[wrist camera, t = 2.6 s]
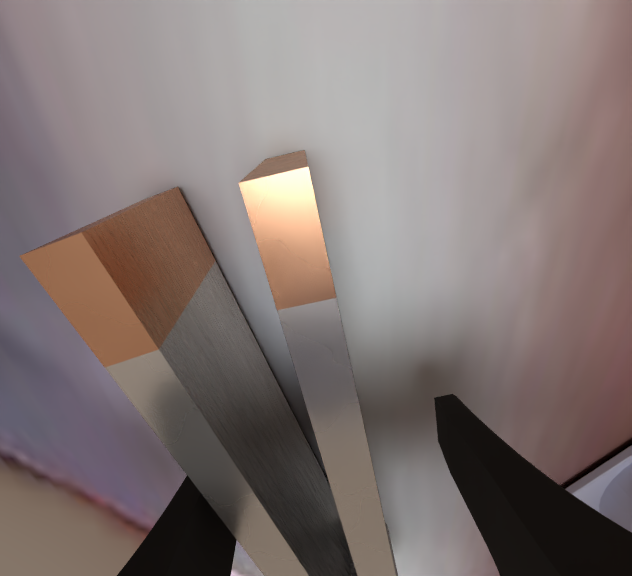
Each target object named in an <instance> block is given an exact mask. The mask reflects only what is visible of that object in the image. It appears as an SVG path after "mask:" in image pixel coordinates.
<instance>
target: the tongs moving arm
mask: <svg viewBox="0 0 632 576" xmlns="http://www.w3.org/2000/svg"><path fill="white" fill-rule="evenodd" d="M20 257H21V259H22V260H23V261H24V263H25V264H26V265H27V267H28V268H29V269H30V271H31V272H32V273H33V274H34V276H35V277H36V278H37V280H38V281H39V282H40V284H41V285H42V286H43V287H44V289H45V290H46V291H47V293H48V294H49V295H50V297H51V298H52V299H53V301H54V302H55V303H56V304H57V306H58V307H59V308H60V310H61V311H62V312H63V314H64V315H65V316H66V318H67V319H68V320H69V321H70V323H71V324H72V325H73V327H74V328H75V329H76V331H77V332H78V333H79V334H80V336H81V337H82V338H83V340H84V341H85V342H86V344H87V345H88V346H89V348H90V349H91V350H92V351H93V353H94V354H95V355H96V357H97V358H98V359H99V361H100V362H101V363H102V364H103V366H104V367H105V368H106V370H107V371H108V372H109V374H110V375H111V376H112V378H113V379H114V380H115V381H116V383H117V384H118V385H119V387H120V388H121V389H122V391H123V392H124V393H125V395H126V396H127V397H128V398H129V400H130V401H131V402H132V404H133V405H134V406H135V408H136V409H137V410H138V411H139V413H140V414H141V415H142V417H143V418H144V419H145V421H146V422H147V423H148V425H149V426H150V427H151V428H152V430H153V431H154V432H155V434H156V435H157V436H158V438H159V439H160V440H161V441H162V443H163V444H164V445H165V447H166V448H167V449H168V451H169V452H170V453H171V455H172V456H173V457H174V458H175V460H176V461H177V462H178V464H179V465H180V466H181V468H182V469H183V470H184V471H185V473H186V474H187V475H188V477H189V478H190V479H191V481H192V482H193V483H194V485H195V486H196V487H197V488H198V490H199V491H200V492H201V494H202V495H203V496H204V498H205V499H206V500H207V502H208V503H209V504H210V505H211V507H212V508H213V509H214V511H215V512H216V513H217V515H218V516H219V517H220V518H221V520H222V521H223V522H224V524H225V525H226V526H227V528H228V529H229V530H230V532H231V533H232V534H233V535H234V537H235V538H236V539H237V541H238V542H239V543H240V545H241V546H242V547H243V548H244V550H245V551H246V552H247V554H248V555H249V556H250V558H251V559H252V560H253V562H254V563H255V564H256V565H257V567H258V568H259V569H260V571H261V572H262V573H263V575H264V576H352V575H351V566H350V558H349V549H348V543H347V539H346V536H345V533H344V529H343V526H342V523H341V520H340V516H339V513H338V510H337V506H336V503H335V500H334V496H333V493H332V490H331V487H330V485H329V483H328V481H327V479H326V477H325V475H324V474H323V472H322V470H321V468H320V466H319V464H318V462H317V460H316V458H315V456H314V454H313V452H312V450H311V448H310V446H309V444H308V442H307V440H306V438H305V436H304V434H303V432H302V430H301V428H300V426H299V424H298V422H297V420H296V418H295V416H294V414H293V413H292V411H291V409H290V407H289V405H288V403H287V401H286V399H285V397H284V395H283V393H282V391H281V389H280V387H279V385H278V383H277V381H276V379H275V377H274V375H273V373H272V371H271V369H270V367H269V365H268V363H267V361H266V359H265V357H264V355H263V353H262V351H261V350H260V348H259V346H258V344H257V342H256V340H255V338H254V336H253V334H252V332H251V330H250V328H249V326H248V324H247V322H246V320H245V318H244V316H243V314H242V312H241V310H240V308H239V306H238V304H237V302H236V300H235V298H234V296H233V294H232V292H231V290H230V288H229V287H228V285H227V283H226V281H225V279H224V277H223V275H222V273H221V271H220V269H219V267H218V265H217V263H216V261H215V259H214V257H213V255H212V253H211V251H210V249H209V247H208V245H207V243H206V241H205V239H204V237H203V235H202V233H201V231H200V229H199V227H198V225H197V224H196V222H195V220H194V218H193V216H192V214H191V212H190V210H189V208H188V206H187V204H186V202H185V200H184V198H183V196H182V194H181V192H180V190H179V188H178V187H176V188H173V189H171V190H168V191H165V192H163V193H160V194H157V195H155V196H152V197H150V198H147V199H144V200H142V201H140V202H137V203H135V204H133V205H131V206H129V207H126V208H124V209H122V210H120V211H118V212H115V213H113V214H111V215H109V216H107V217H104V218H102V219H100V220H98V221H96V222H93V223H91V224H89V225H87V226H85V227H82V228H80V229H78V230H76V231H74V232H71V233H69V234H67V235H65V236H62V237H60V238H58V239H56V240H54V241H51V242H49V243H47V244H45V245H43V246H40V247H38V248H36V249H34V250H32V251H29V252H27V253H25V254H23V255H21V256H20Z"/></svg>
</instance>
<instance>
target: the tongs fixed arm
mask: <svg viewBox="0 0 632 576" xmlns="http://www.w3.org/2000/svg"><path fill="white" fill-rule="evenodd" d="M239 186H240V189H241V193H242V196H243V199H244V202H245V206H246V209H247V212H248V216H249V219H250V222H251V226H252V229H253V232H254V235H255V239H256V242H257V245H258V249H259V252H260V255H261V259H262V262H263V265H264V268H265V272H266V275H267V278H268V282H269V285H270V288H271V292H272V295H273V298H274V302H275V305H276V308H277V311H278V315H279V318H280V321H281V325H282V328H283V331H284V335H285V338H286V341H287V344H288V348H289V351H290V354H291V358H292V361H293V364H294V368H295V371H296V374H297V378H298V381H299V384H300V387H301V391H302V394H303V397H304V401H305V404H306V407H307V411H308V414H309V417H310V420H311V424H312V427H313V430H314V434H315V437H316V440H317V444H318V447H319V450H320V453H321V457H322V460H323V463H324V467H325V470H326V473H327V477H328V480H329V483H330V487H331V490H332V493H333V496H334V500H335V503H336V506H337V510H338V513H339V516H340V520H341V523H342V526H343V529H344V533H345V536H346V539H347V543H348V549H349V558H350V566H351V575H352V576H398V572H397V568H396V563H395V559H394V554H393V550H392V545H391V540H390V536H389V531H388V527H387V525H386V523H385V521H384V517H383V512H382V508H381V503H380V498H379V494H378V489H377V484H376V480H375V475H374V470H373V466H372V461H371V456H370V452H369V447H368V442H367V438H366V433H365V428H364V424H363V419H362V414H361V410H360V405H359V400H358V396H357V391H356V387H355V382H354V377H353V373H352V368H351V363H350V359H349V354H348V349H347V345H346V340H345V335H344V331H343V326H342V321H341V317H340V312H339V307H338V303H337V298H336V293H335V289H334V284H333V279H332V275H331V270H330V266H329V261H328V256H327V252H326V247H325V242H324V238H323V233H322V228H321V224H320V219H319V214H318V210H317V205H316V200H315V196H314V191H313V186H312V182H311V177H310V172H309V168H308V163H307V159H306V154H305V150H302V151H298V152H294V153H290V154H285V155H281V156H277V157H273V158H268V159H265V160H264V161H263V162H262V163H261V164H259V165H258V166H257V167H256V168H255V169H254V170H253V171H252V172H250V173H249V174H248V175H247V176H246V177H245V178H244V179H243V180H241V181H240V182H239Z"/></svg>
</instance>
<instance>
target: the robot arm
mask: <svg viewBox="0 0 632 576" xmlns="http://www.w3.org/2000/svg"><path fill="white" fill-rule="evenodd" d="M434 399H435V410H436V421H437V432H438V442H439V444H440V447H441V450H442V452H443V455H444V458H445V460H446V463H447V465H448V468H449V470H450V473H451V475H452V477H453V479H454V481H455V483H456V485H457V487H458V489H459V491H460V493H461V495H462V497H463V499H464V501H465V503H466V505H467V507H468V509H469V511H470V513H471V515H472V517H473V519H474V521H475V523H476V525H477V527H478V529H479V531H480V533H481V535H482V537H483V539H484V541H485V543H486V544H487V547H488V549H489V551H490V553H491V555H492V557H493V559H494V562H495V564H496V566H497V569H498V571H499V574H500V576H632V445H631V446H629V447H628V448H626V449H625V450H623V451H622V452H620V453H619V454H617V455H616V456H614V457H613V458H611V459H610V460H608V461H607V462H605V463H604V464H602V465H601V466H599V467H598V468H596V469H595V470H593V471H591V472H590V473H588V474H587V475H585V476H584V477H582V478H581V479H579V480H578V481H576V482H575V483H573V484H572V485H570V486H569V487H567V488H566V489H564V488H563V487H561V486H560V485H558V484H557V483H556V482H554V481H553V480H552V479H550V478H549V477H548V476H546V475H545V474H544V473H542V472H541V471H540V470H538V469H537V468H536V467H535V466H533V465H532V464H531V463H529V462H528V461H527V460H526V459H524V458H523V457H522V456H521V455H520V454H518V453H517V452H516V451H515V450H513V449H512V448H511V447H510V446H509V445H508V444H506V443H505V442H504V441H503V440H502V439H501V438H500V437H498V436H497V435H496V434H495V433H494V432H493V431H492V430H491V429H489V428H488V427H487V426H486V425H485V424H484V423H483V422H482V421H481V420H480V419H479V418H478V417H477V416H475V415H474V414H473V413H472V412H471V411H470V410H469V409H468V408H467V407H466V406H465V405H464V404H463V403H462V402H461V401H460V400H459V399H458V398H457V397H456V396H455V395H453V394H451V395H446V396H441V397H436V398H434ZM236 540H237V539H236V538H235V537H234V535H233V534H232V533H231V532H230V530H229V529H228V528H227V526H226V525H225V524H224V522H223V521H222V520H221V518H220V517H219V516H218V515H217V513H216V512H215V511H214V509H213V508H212V507H211V505H210V504H209V503H208V502H207V500H206V499H205V498H204V496H203V495H202V494H201V492H200V491H199V490H198V488H197V487H196V486H195V485H194V483H193V482H192V481H191V479H190V478H189V477H188V475H187V477H186V478H185V480H184V481H183V483H182V485H181V486H180V488H179V489H178V491H177V492H176V494H175V495H174V497H173V499H172V500H171V502H170V503H169V505H168V506H167V508H166V509H165V511H164V512H163V514H162V515H161V517H160V518H159V520H158V521H157V522H156V524H155V525H154V527H153V528H152V530H151V531H150V532H149V534H148V535H147V537H146V538H145V540H144V541H143V542H142V544H141V545H140V546H139V548H138V549H137V550H136V552H135V553H134V554H133V556H132V557H131V558H130V560H129V561H128V562H127V564H126V565H125V566H124V567H123V569H122V570H121V571H120V572H119V574H118V575H117V576H230V575H231V569H232V563H233V557H234V552H235V546H236Z"/></svg>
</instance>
